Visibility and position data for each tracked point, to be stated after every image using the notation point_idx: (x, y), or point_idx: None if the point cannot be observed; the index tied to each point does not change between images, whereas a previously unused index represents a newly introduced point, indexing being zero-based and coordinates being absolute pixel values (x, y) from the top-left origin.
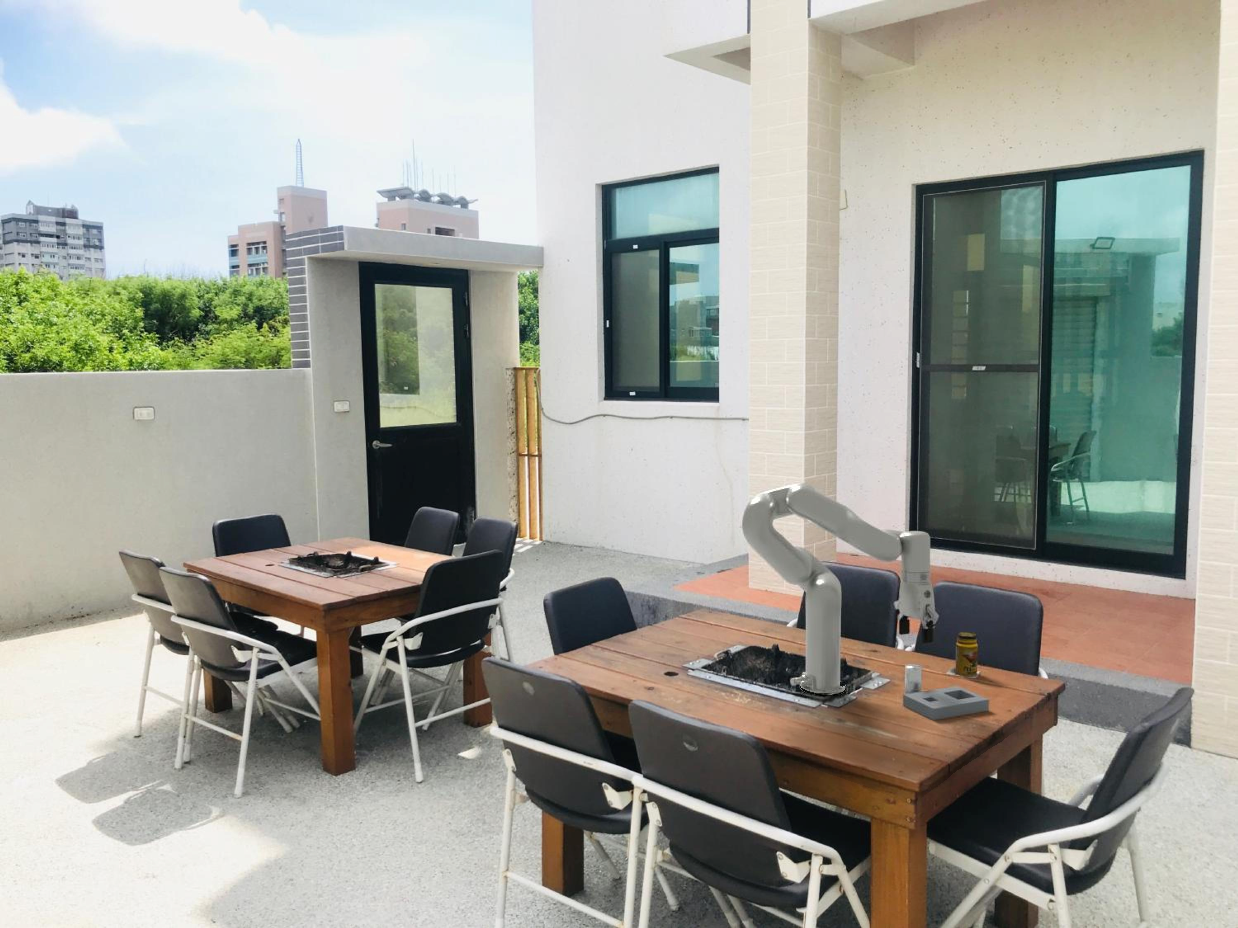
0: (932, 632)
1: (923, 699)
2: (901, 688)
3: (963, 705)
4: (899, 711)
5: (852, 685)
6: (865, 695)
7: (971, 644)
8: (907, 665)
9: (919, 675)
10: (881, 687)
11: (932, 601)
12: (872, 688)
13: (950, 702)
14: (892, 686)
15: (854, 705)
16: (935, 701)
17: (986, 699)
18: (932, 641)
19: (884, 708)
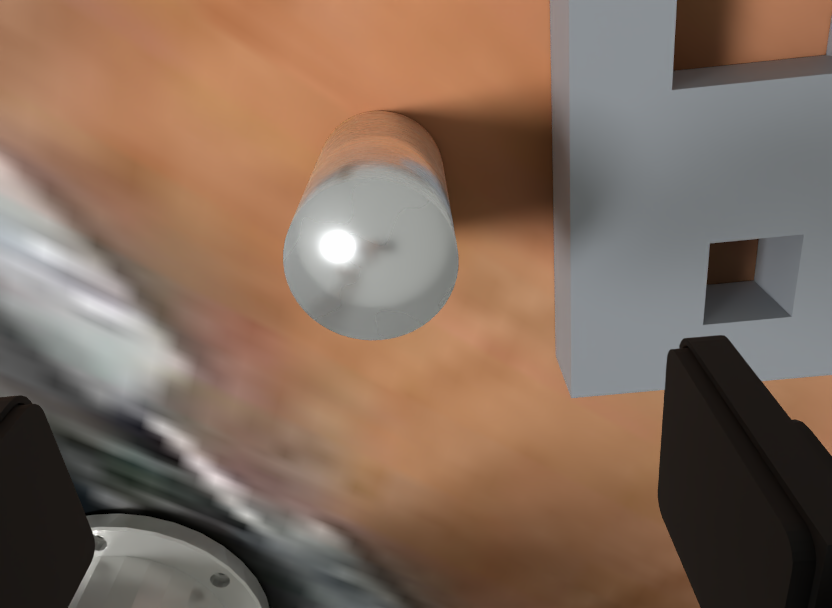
0: (807, 457)
1: (726, 327)
2: (218, 176)
3: None
4: (639, 426)
5: (97, 449)
6: (307, 465)
7: None
8: (317, 298)
9: (451, 217)
10: (169, 301)
11: None
12: (180, 366)
13: None
14: (159, 215)
15: (451, 582)
16: (806, 270)
17: None
18: (721, 341)
19: (557, 474)
